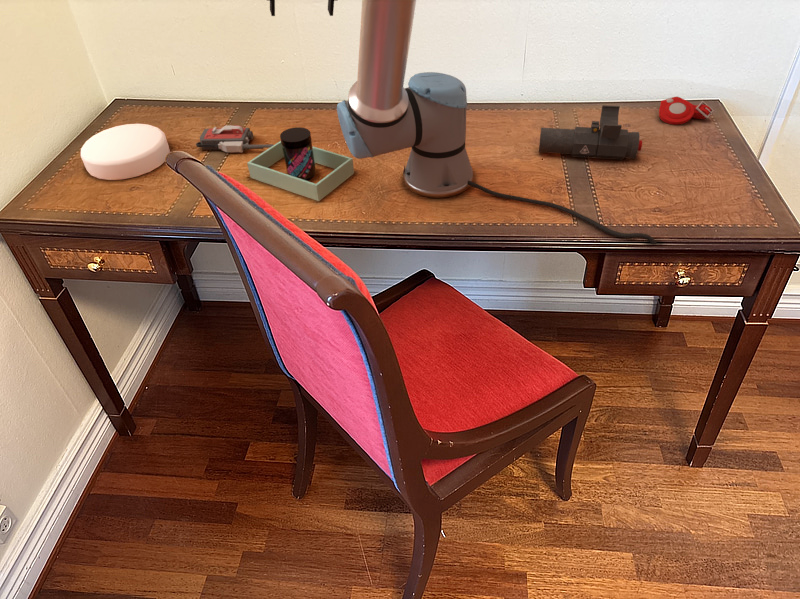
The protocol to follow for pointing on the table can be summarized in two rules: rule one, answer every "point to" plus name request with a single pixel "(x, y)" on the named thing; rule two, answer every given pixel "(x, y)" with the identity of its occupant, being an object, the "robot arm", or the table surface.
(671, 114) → the tracker holder
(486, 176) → the table surface
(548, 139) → the laser sight
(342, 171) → the rectangular frame
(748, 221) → the table surface
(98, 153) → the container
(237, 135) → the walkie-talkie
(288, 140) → the supplement container
